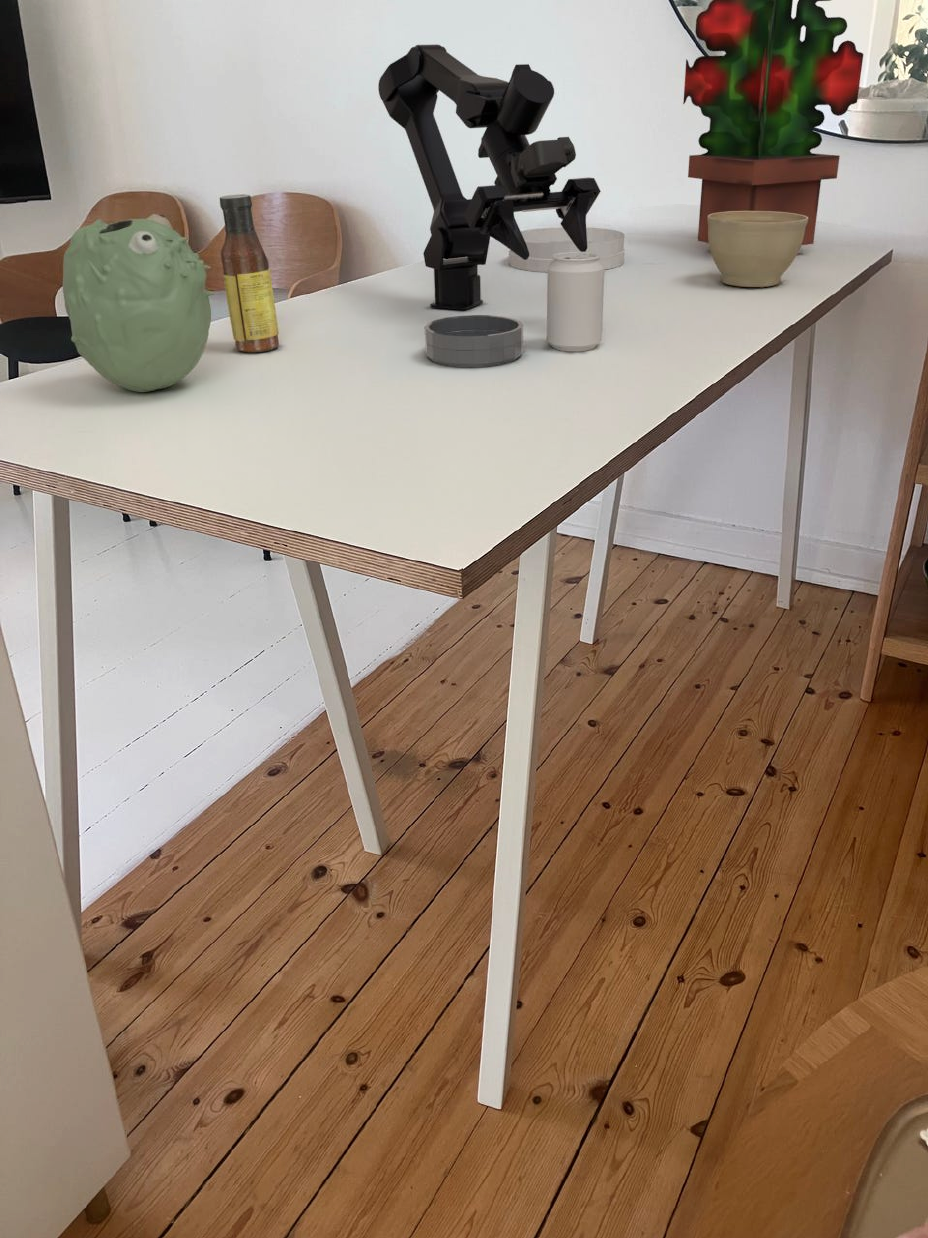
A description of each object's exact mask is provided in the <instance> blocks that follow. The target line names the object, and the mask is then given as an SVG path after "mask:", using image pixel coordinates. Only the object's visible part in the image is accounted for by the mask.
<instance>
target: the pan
mask: <svg viewBox="0 0 928 1238" xmlns="http://www.w3.org/2000/svg"><path fill="white" fill-rule="evenodd" d="M423 327H424V349H425V351H424V352H425V355H426V357H427V358H429V359H430V360H431V362H434V363H435V364H439V365H442V366H447V367H455V368H486V367H487V368H488V367H495V366H500V365H505V364H509V363H511V362H514V361H516V360H518V359H519V357H521V355H523V352H524V324H523V322H522V321H520V320H518V319H515V318H512V317H507V316H501V315H489V314H488V315H487V314H484V315H483V314H480V315H479V314H471V315H456V316H448V317H443V318H439V319H435V320H433V321H430V322H428V323H426V324H425V325H424V326H423Z"/></svg>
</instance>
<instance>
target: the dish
mask: <svg viewBox="0 0 928 1238" xmlns="http://www.w3.org/2000/svg"><path fill="white" fill-rule="evenodd" d="M520 231H521V230H520ZM586 232H587V250H586V252H592V253H597V254H599V255H600V258H599V261H600V262H601V263H602V264H603V266H604V271H606V270H612V269H615V268H618V267H619V268H620V267H621V266H623V265H624V264H625V254H626V253H625V252H626V249H625V247H624V246H625V233H623V232H622V231H619V230H615V229H608V228H602V227H601V228H599V227H586ZM521 234H522V236H523V238H524V240H525V242H526V245H527V248H528V251H529V257H528V259H527V260H524V259H522V258H521V257H520V256H518V255H517V254H516V253H514V252H513V251H512V250H510V249H509V251H508V264H509V267H512V268H514V269H517V270H523V271H527V272H537V273H548V266H549V265H550V264H551V263H552V261H553V260H554V259H553V258H552V256H553V255H554V254H557V253H563V252H580V250H579V249H578V248H577V247H576V246H575V244H574V243H573V241H572V240H571V238H570V237H569V236H568V234H567V233H566V231H565V230H564V229H563V227H562V226H560V227H545V228H544V227H543V228H534V229H526V230H522V231H521Z"/></svg>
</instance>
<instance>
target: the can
mask: <svg viewBox="0 0 928 1238" xmlns="http://www.w3.org/2000/svg"><path fill="white" fill-rule="evenodd" d="M552 258H553V259H554V260H553V261H552V263H551V264H550V265H549V266H548V272H547V277H546V278H547V282H546V285H547V287H546V288H547V289H546V298H547V299H546V342H547V343H548V344H549V345H550V346H551V347H552V348H553V349H554V350H558V351H562V352H585V351H591V350H594V349H595V348H596V347H597V345H599V344H600V343H601V342H602V341H603V320H604V294H605V293H604V292H605V270H604V266H603V264H602V263H601V262H600V261H599V258H600V255H599V254H597V253H592V252H563V253H557V254H554V255H553V256H552Z"/></svg>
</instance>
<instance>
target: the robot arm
mask: <svg viewBox="0 0 928 1238" xmlns="http://www.w3.org/2000/svg"><path fill="white" fill-rule="evenodd" d="M377 85H378V87H377V89H378V94H379V98H380V100H381V101H382V103H383V105H384V107H385V109H386V111H387V114H388V116H389V117H390V118H391V120H393V121H395V122H396V123H397V124H398V125H399V126H401V127H402V128H403V129H404V130H405V133H406V136H407V139H408V141H409V144H410V148H411V150H412V153H413V156H414V158H415V161H416V164H417V167H418V170H419V172H420V175H421V178H422V181H423V183H424V186H425V189H426V191H427V194H428V197H429V200H430V203H431V205H432V209H433V215H432V217H431V218H432V219H431V223H430V226H429V231H430V234H431V236H430V238H429V240H428V242H427V243H426V246H425V248H424V250H423V260H424V265H425V267H427V268H430V269H433V283H434V302H432V303H430V304H429V307H430V308H432V309H433V308H435V309H445V310H447V309H448V310H459V311H467V310H469V309H472V308H475V307H476V306H479V305H481V304H483V303H484V300H483V299H482V296H481V290H482V289H481V288H482V287H481V276H480V274H479V271H478V270H479V269H478V266H480V265H481V266H485V265H486V264H487V260H488V254H489V249H490V248H489V246H490V242H491V241H490V240H491V238H492V239H494V240H496V242H498V243H500V244H502V245H503V246H505V247H506V248H507V249H509V251H510V250H512V251H513V252H514V253H516V254H517V255H518V256H520V257H521V258H522V259H524V260H527V259H528V257H529V251H528V248H527V245H526V242H525V240H524V238H523V236H522V234H521V229H520V227H519V225H518V222H517V220H516V218H515V213H518V212H522V213H527V212H538V211H549V210H555V213H556V215H557V217H558V218H559V219H561V222H560V227H563V229H564V230H565V231H566V233H567V234H568V236H569V237H570V238H571V240H572V241H573V243H574V244H575V246H576V247H577V248H578V249H579V250H580V252H586V250H587V232H586V228H587V215H588V213H589V211H590V210H591V208H592V206H593V205H594V204H595V202H596V200H597V198H598V197H599V195H600V193H601V189H600V187H599V185H598V183H597V181H596V179H595V177H589V176H588V177H578V178H568V179H567V181H566V182H565V184H564V187H563V188H562V189H561V191H552V192H551V186H554V185H555V183H556V182H557V180H558V177H557V175H556V173H558V172H559V171H560V170H562V168H566V167H568V166H569V165H570V164H571V163H572V162H574V161H575V160H576V156H577V152H576V148H575V145H574V143H573V142H572V140H571V138H570V136H559V137H557V139H547V140H545V139H544V140H537V141H533V142H532V143H530V142H529V140H528V138H527V136H529V135H532V134H534V133H535V132H536V131H537V130H538V128H539V126H540V124H541V122H542V120H543V118H544V116H545V114H546V112H547V111H548V108H549V106H550V105H551V103H552V100H553V99H554V96H555V88H554V85H553V83H552V81H550V80H549V79H548V78H547V77H545V76H544V75H543V74H541V73H540V72H538V71H535V70H533V69H532V68H531V66H530V64H529V63H524V64H523V63H521V64H515V65H514V68H513V70H512V72H511V76H510V78H509V81H508V80H507V81H506V80H504V79H499V78H497V77H490V76H484V75H481V74H478V73H476V72H475V71H473V70H472V69H471V68H470V67H468V66H467V65H465V64H464V63H463V62H461V61H460V60H458V59H457V58H456V57H455V56H453V55H452V54H450V53H449V52H448V51H447V49H446V47H444V46H441V44H416V45H414V46H412V47H411V48H410V49H409V51H408V52H407V53H406V54H405V55H404V56H401V57H400V58H398V59H396V60H395V61H393V62H392V63H390V64H389V65H388V66H387V67H386V69H385V70H384V71H383V74H382V75H381V76H380V77H379V79H378V84H377ZM439 92H441V93H442V94H443V95H444V96H446V97H447V98H449V99H450V100H451V101H452V102H454V105H456V107H455V114H456V115H457V117H458V118H459V119H460V120H461V122H462V123H463V124H464V125H465V127H467V128H468V129H484V128H486V129H485V131H484V132H483V135H482V137H481V140H480V141H481V142H480V145H479V147H478V148H477V149H478V151H477V157H478V158H479V159H484V158H485V159H486V158H489V161H490V163H491V165H492V167H493V170H494V172H495V174H496V177H495V180H494V181H493V184H492V185H479V186H477V187H476V188H475V191H474V192H473V195H472V197H471V198H469V199H467V198H466V197H465V196H464V195H463V192H462V189H461V187H460V184H459V181H458V178H457V175H456V172H455V170H454V167H453V164H452V162H451V159H450V156H449V154H448V150H447V148H446V145H445V143H444V140H443V137H442V134H441V132H440V129H439V126H438V124H437V121H436V118H435V114H434V113H435V110H436V109H435V108H436V105H437V101H438V93H439Z"/></svg>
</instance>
